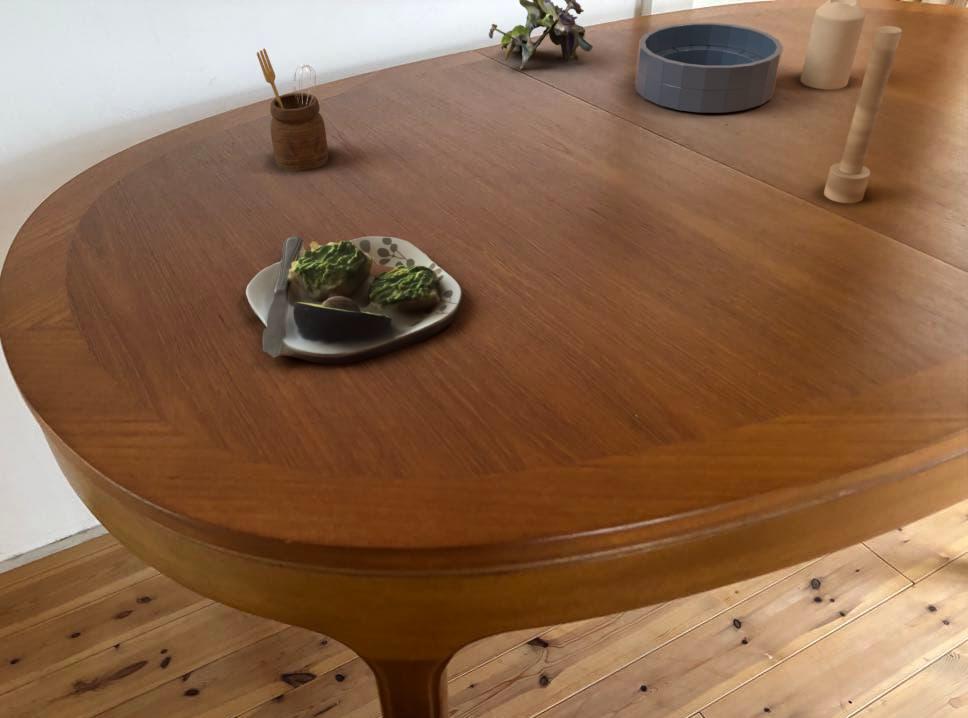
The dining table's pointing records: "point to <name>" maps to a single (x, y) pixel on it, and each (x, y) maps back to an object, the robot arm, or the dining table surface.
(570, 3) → the passion flower
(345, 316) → the avocado toast plate
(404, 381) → the dining table surface
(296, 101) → the utensil holder
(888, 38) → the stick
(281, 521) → the dining table surface
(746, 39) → the bowl
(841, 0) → the cream bottle
